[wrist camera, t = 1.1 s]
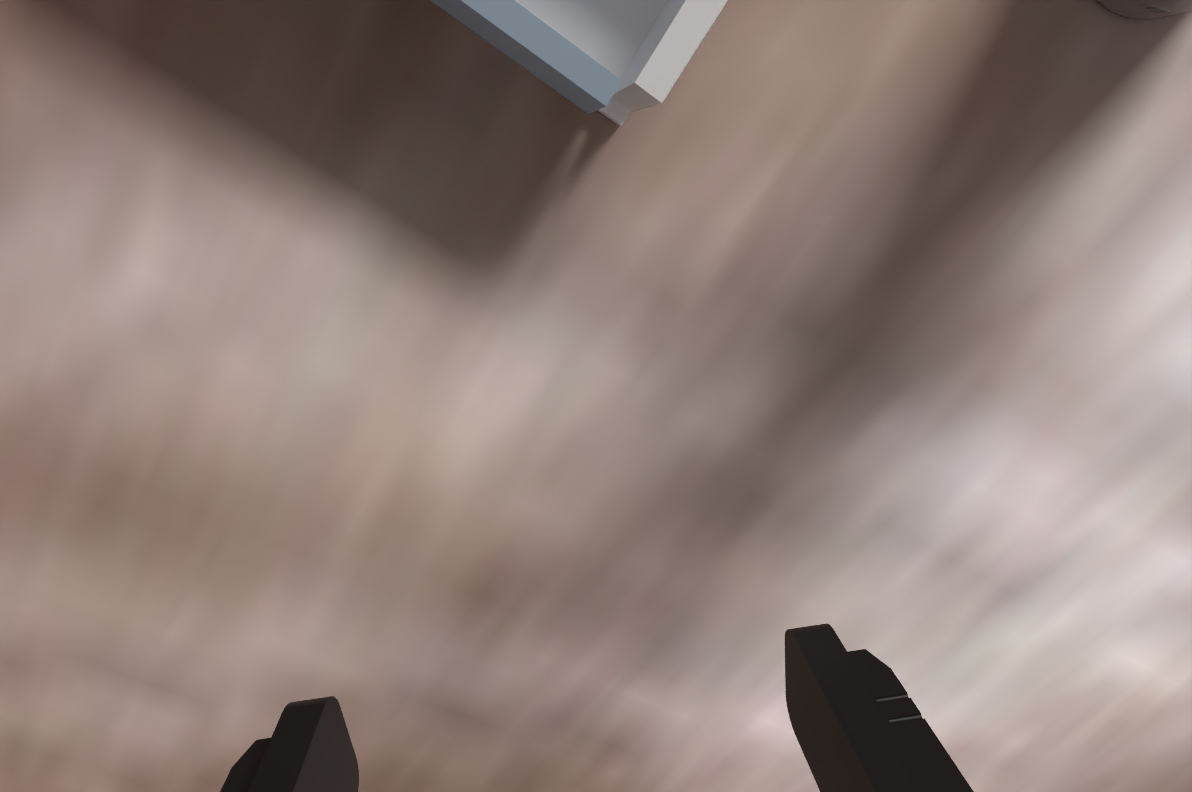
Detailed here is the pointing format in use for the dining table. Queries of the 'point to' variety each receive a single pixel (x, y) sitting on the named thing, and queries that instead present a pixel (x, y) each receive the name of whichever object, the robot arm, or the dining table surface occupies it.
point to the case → (632, 41)
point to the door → (537, 49)
